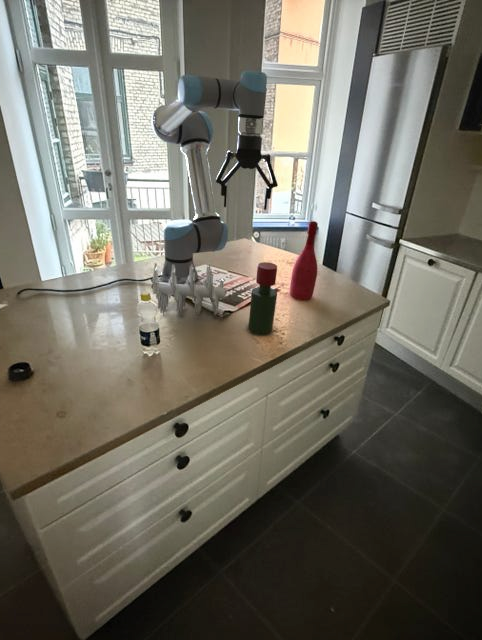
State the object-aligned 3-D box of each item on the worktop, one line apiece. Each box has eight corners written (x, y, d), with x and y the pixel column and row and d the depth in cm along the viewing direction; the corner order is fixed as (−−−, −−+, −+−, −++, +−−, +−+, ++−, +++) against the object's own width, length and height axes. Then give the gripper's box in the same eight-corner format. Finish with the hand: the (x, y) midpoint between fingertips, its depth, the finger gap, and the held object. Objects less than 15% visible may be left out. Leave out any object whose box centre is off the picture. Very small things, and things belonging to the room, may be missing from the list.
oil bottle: (249, 335, 124) (255, 272, 111) (247, 323, 131) (253, 262, 118) (273, 336, 124) (281, 273, 112) (270, 324, 131) (278, 264, 119)
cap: (256, 285, 115) (258, 268, 112) (255, 278, 120) (257, 261, 117) (276, 286, 115) (278, 269, 112) (274, 279, 120) (276, 262, 117)
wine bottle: (311, 292, 156) (325, 219, 139) (313, 302, 148) (328, 226, 131) (288, 290, 157) (299, 217, 140) (288, 300, 149) (300, 223, 132)
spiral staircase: (222, 328, 134) (152, 324, 131) (222, 291, 143) (156, 286, 140) (228, 296, 119) (148, 290, 115) (227, 256, 127) (153, 249, 124)
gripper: (209, 132, 110) (207, 207, 122) (292, 138, 111) (282, 212, 123) (210, 130, 116) (208, 202, 128) (288, 137, 118) (279, 207, 129)
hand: (244, 207), depth 126 cm, fingers open, 13 cm apart
